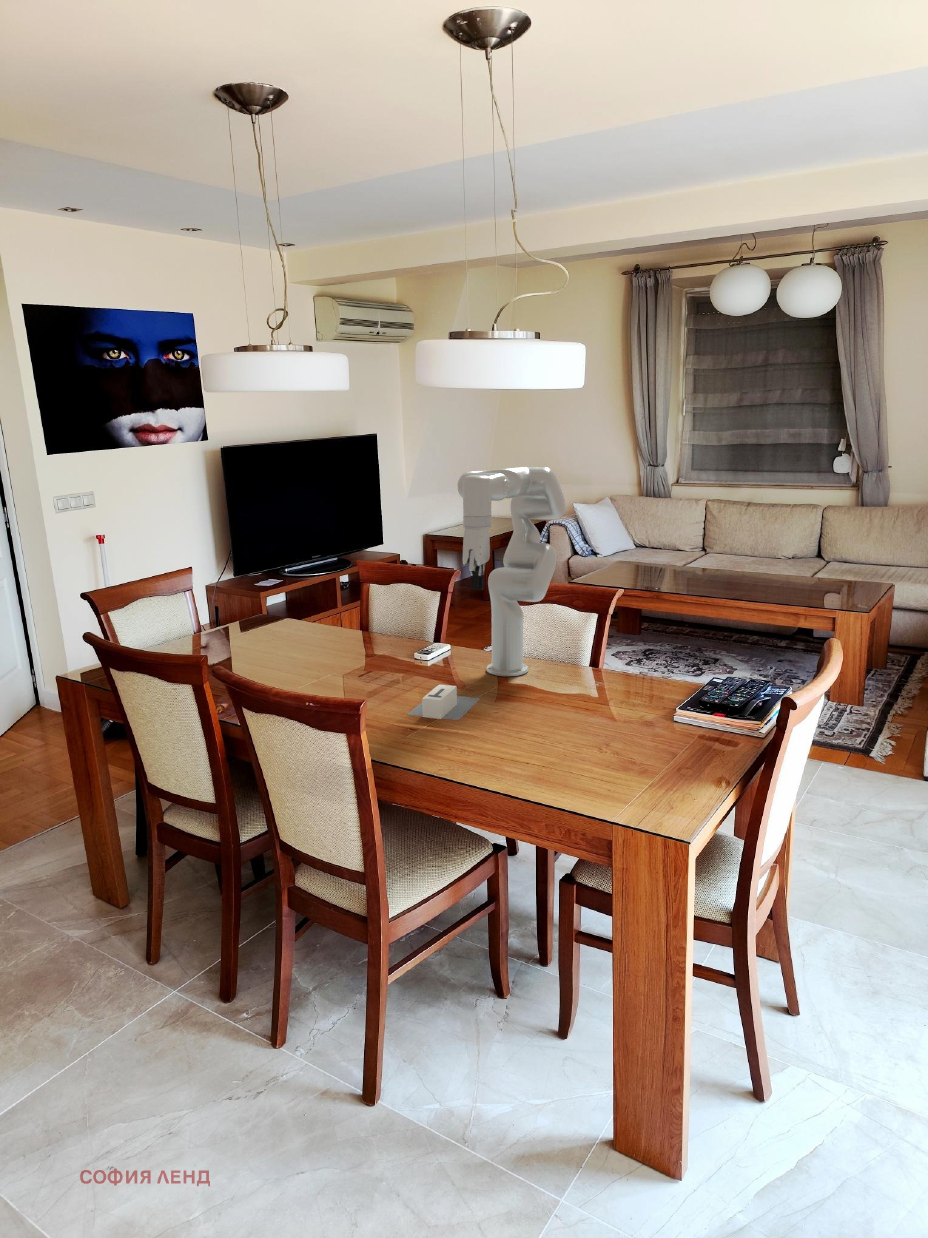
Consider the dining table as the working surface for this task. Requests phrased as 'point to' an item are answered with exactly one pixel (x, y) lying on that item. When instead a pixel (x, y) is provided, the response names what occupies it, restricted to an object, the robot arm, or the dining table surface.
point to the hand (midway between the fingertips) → (477, 589)
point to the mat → (456, 712)
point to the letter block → (439, 701)
